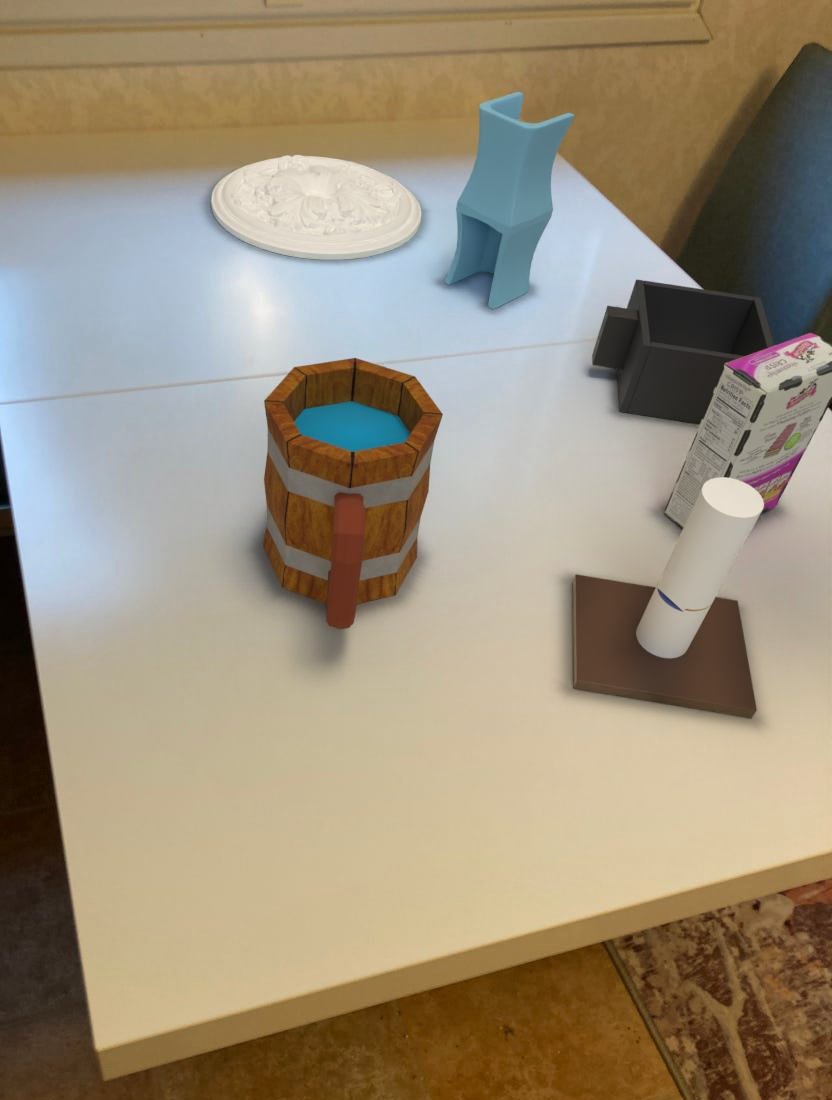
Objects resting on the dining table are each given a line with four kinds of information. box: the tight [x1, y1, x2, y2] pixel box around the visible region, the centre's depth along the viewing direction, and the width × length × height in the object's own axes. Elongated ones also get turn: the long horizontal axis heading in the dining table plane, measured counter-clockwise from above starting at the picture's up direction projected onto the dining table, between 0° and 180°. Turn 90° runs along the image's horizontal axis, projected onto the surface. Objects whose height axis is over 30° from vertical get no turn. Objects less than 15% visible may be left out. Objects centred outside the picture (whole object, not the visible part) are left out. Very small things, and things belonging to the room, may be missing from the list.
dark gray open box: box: [591, 278, 775, 425], centre depth 100 cm, size 17×14×8 cm
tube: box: [636, 477, 764, 658], centre depth 70 cm, size 4×4×15 cm
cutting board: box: [572, 574, 758, 718], centre depth 76 cm, size 14×12×1 cm
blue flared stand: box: [444, 91, 576, 310], centre depth 107 cm, size 8×8×20 cm
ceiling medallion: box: [210, 154, 422, 261], centre depth 123 cm, size 28×28×3 cm
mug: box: [262, 357, 444, 630], centre depth 73 cm, size 20×14×15 cm
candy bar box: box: [663, 332, 832, 530], centre depth 83 cm, size 11×5×16 cm, turn 122°
